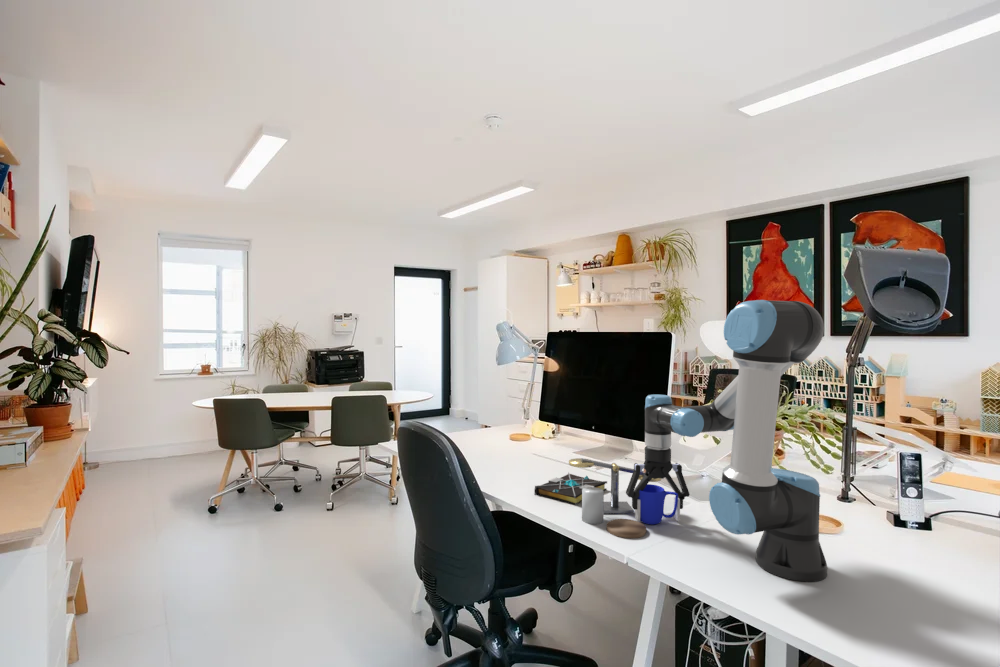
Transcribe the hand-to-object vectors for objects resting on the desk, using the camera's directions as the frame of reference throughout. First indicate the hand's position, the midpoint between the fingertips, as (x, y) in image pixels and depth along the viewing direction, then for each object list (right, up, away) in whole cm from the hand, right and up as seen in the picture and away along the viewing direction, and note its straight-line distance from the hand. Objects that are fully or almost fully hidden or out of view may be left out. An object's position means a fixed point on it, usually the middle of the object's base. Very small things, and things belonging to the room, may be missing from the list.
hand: (657, 519), depth 154 cm
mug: (0, -1, 0) cm, 1 cm away
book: (-22, -1, +27) cm, 35 cm away
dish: (-11, -1, -6) cm, 13 cm away
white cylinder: (-19, -1, +1) cm, 19 cm away
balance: (-10, 0, +11) cm, 15 cm away
